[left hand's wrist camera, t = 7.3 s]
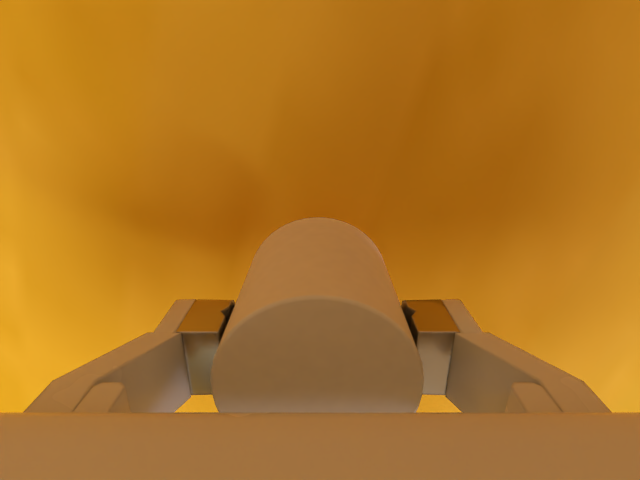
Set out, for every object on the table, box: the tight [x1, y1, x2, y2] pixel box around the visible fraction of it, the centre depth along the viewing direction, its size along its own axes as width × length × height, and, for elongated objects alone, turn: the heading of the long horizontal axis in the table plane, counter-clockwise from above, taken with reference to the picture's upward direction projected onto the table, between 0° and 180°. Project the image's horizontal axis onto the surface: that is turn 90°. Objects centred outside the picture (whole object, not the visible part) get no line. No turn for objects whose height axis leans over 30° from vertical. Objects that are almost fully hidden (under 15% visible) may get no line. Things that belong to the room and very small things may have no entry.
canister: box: [211, 217, 424, 413], centre depth 10 cm, size 4×4×5 cm
